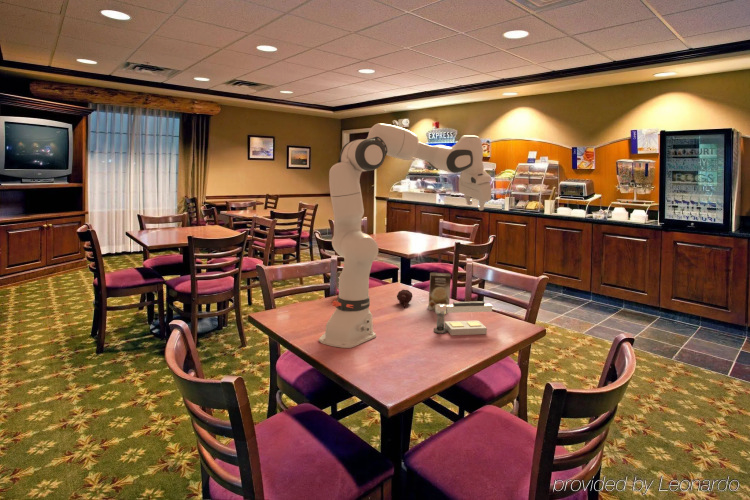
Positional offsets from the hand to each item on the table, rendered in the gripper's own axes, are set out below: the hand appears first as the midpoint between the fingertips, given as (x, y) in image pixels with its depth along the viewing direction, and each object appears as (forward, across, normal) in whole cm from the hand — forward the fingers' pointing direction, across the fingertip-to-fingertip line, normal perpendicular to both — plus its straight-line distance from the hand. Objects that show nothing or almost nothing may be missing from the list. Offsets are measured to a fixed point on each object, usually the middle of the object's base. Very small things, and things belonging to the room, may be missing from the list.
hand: (475, 207), depth 186 cm
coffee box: (+44, -3, -20) cm, 49 cm away
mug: (+42, -36, -55) cm, 78 cm away
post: (+37, +24, -32) cm, 54 cm away
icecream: (+44, -15, -32) cm, 56 cm away
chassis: (+39, +26, -23) cm, 52 cm away
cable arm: (+31, +24, -22) cm, 45 cm away
